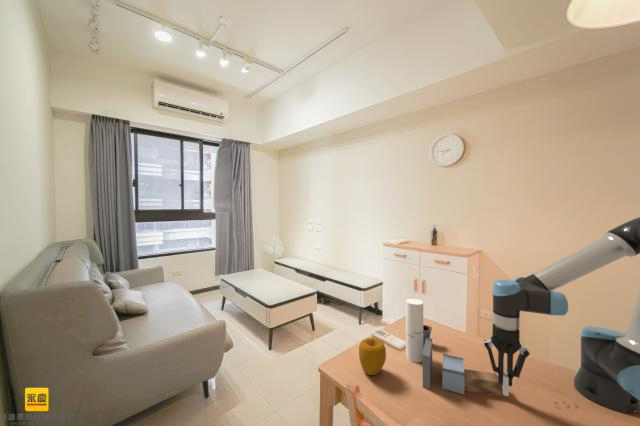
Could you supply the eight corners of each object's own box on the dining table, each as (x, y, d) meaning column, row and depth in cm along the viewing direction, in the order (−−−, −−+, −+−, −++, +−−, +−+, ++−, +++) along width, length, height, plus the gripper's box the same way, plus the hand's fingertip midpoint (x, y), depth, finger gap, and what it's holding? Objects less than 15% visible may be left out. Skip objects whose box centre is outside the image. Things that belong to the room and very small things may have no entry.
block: (463, 377, 97) (463, 358, 97) (464, 394, 88) (464, 373, 88) (443, 372, 101) (443, 353, 100) (442, 388, 92) (442, 368, 92)
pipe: (405, 343, 123) (405, 327, 122) (426, 339, 126) (426, 323, 126) (413, 350, 117) (413, 333, 117) (435, 345, 120) (435, 329, 120)
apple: (384, 383, 95) (384, 350, 95) (356, 377, 98) (356, 345, 98) (387, 366, 105) (386, 335, 105) (361, 361, 109) (361, 332, 108)
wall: (432, 367, 104) (432, 338, 104) (429, 388, 92) (429, 356, 92) (425, 365, 105) (425, 337, 105) (422, 386, 93) (422, 354, 93)
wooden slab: (496, 386, 93) (496, 373, 93) (502, 396, 88) (502, 382, 88) (454, 380, 96) (454, 367, 96) (458, 389, 91) (458, 376, 91)
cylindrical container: (424, 363, 107) (424, 305, 107) (407, 361, 108) (407, 303, 108) (421, 353, 114) (421, 299, 114) (405, 351, 115) (404, 298, 115)
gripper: (526, 325, 87) (525, 392, 87) (482, 317, 93) (481, 380, 93) (533, 335, 80) (532, 407, 81) (484, 326, 86) (484, 393, 87)
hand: (504, 393), depth 87 cm, fingers closed
